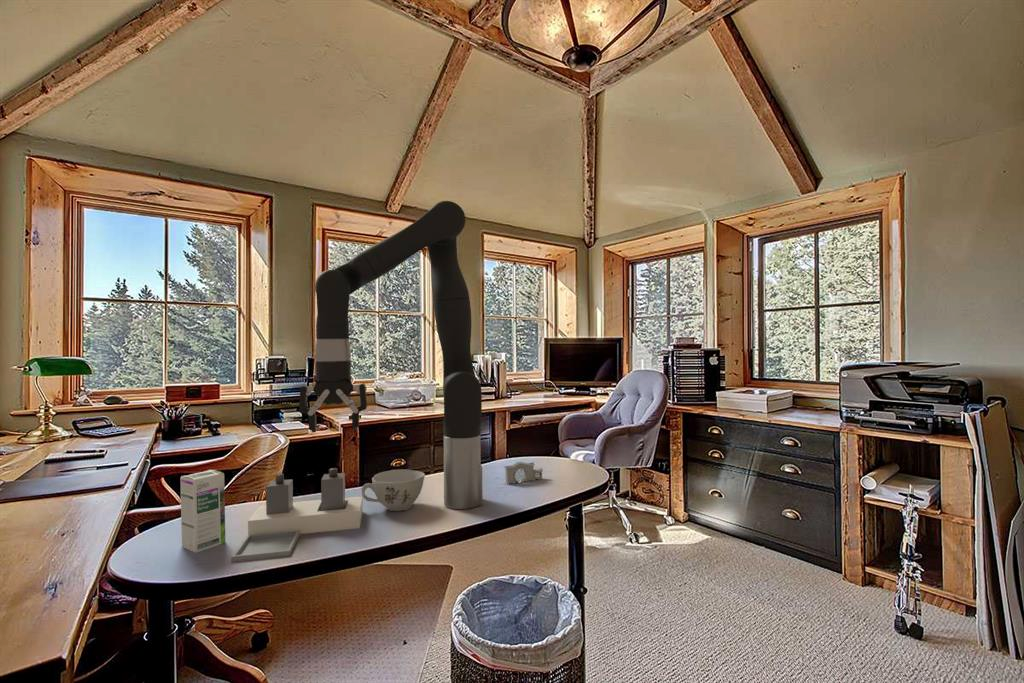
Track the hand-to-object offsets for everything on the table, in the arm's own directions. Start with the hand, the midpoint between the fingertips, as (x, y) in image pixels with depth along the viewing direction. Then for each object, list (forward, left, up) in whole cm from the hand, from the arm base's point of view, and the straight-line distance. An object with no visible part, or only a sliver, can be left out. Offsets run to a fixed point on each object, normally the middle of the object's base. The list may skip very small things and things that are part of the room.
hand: (334, 430), depth 107 cm
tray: (+11, +11, -21) cm, 26 cm away
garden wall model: (-50, -19, -21) cm, 57 cm away
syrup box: (+24, +6, -21) cm, 33 cm away
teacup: (-13, -6, -21) cm, 25 cm away
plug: (0, +1, -20) cm, 20 cm away
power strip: (+5, +1, -21) cm, 21 cm away
